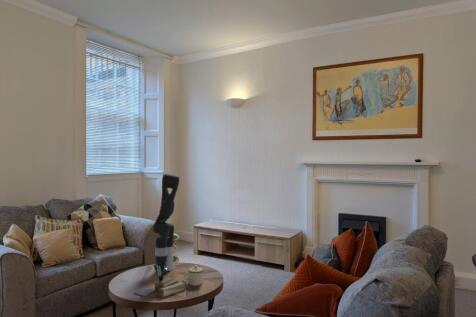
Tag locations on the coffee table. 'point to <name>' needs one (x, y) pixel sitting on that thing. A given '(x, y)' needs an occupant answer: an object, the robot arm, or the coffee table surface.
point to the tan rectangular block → (165, 283)
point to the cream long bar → (172, 289)
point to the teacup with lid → (195, 276)
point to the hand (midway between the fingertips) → (160, 281)
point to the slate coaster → (144, 292)
